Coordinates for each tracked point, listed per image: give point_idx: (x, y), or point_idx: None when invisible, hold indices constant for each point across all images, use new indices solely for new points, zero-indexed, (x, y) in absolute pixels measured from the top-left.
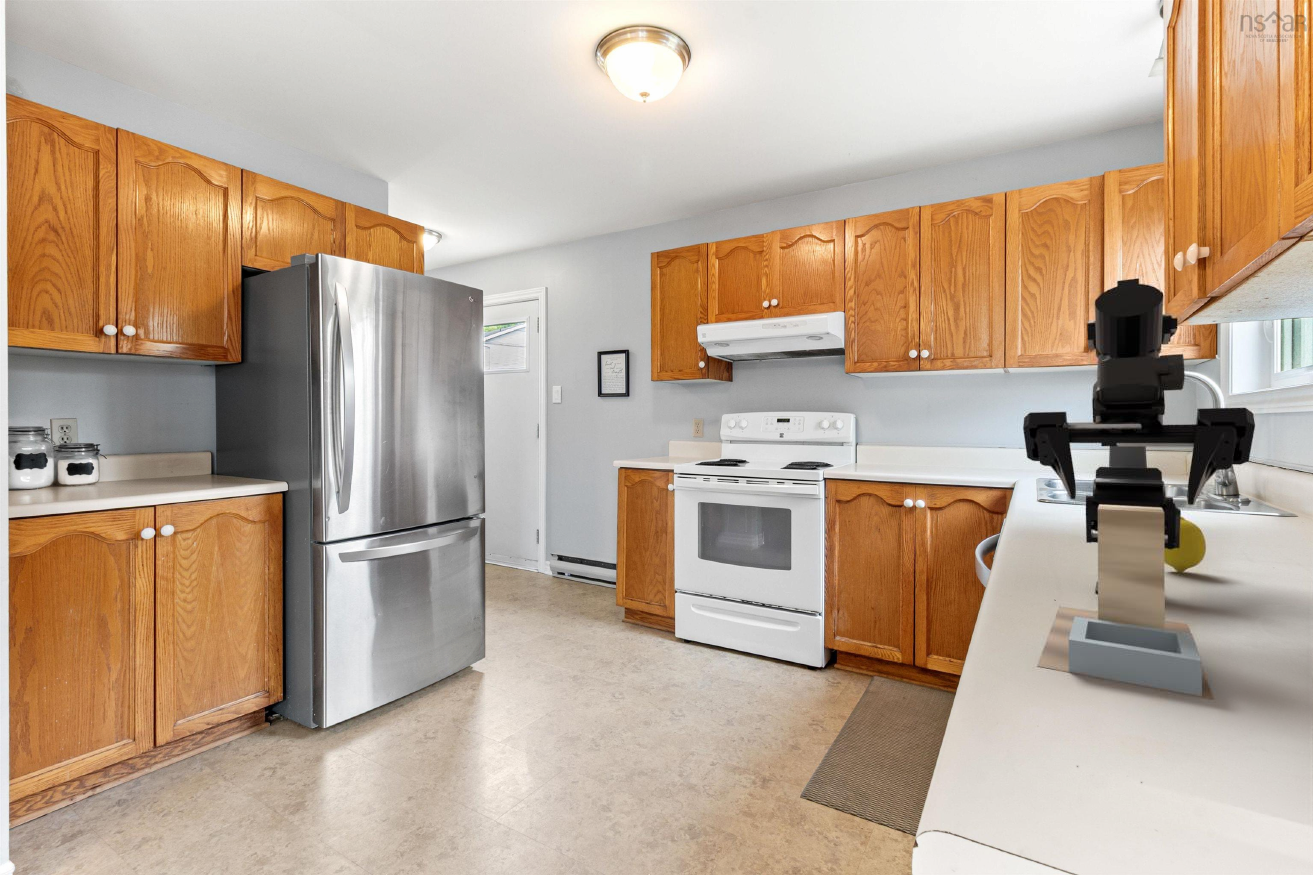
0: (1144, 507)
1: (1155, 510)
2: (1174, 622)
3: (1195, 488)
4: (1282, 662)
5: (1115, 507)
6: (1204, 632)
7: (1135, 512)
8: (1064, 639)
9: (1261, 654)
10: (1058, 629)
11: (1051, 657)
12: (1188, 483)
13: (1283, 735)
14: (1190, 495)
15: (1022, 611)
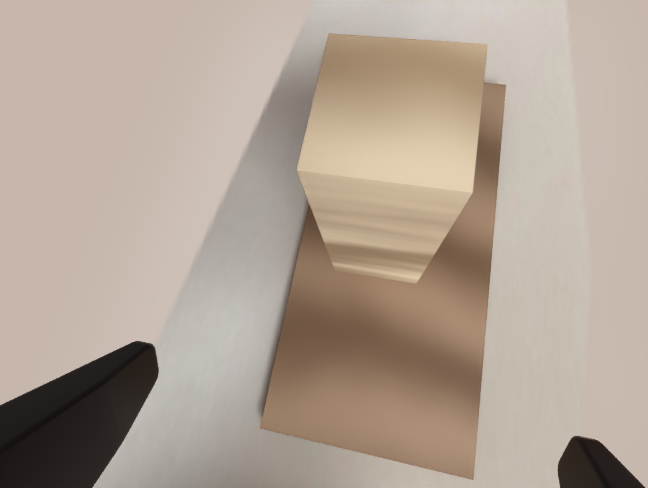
0: (346, 148)
1: (337, 72)
2: (279, 427)
3: (99, 363)
4: (191, 309)
5: (432, 110)
6: (232, 454)
7: (392, 43)
8: (470, 219)
9: (200, 341)
10: (478, 275)
11: (489, 125)
12: (101, 383)
13: (298, 60)
14: (140, 347)
15: (542, 482)
